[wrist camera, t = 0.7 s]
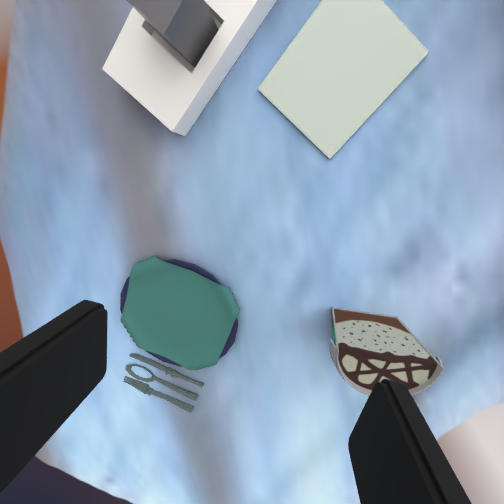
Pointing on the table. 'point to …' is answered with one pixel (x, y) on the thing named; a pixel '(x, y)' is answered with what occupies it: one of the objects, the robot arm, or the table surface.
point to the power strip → (182, 62)
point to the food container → (380, 352)
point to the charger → (180, 24)
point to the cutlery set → (177, 320)
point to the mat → (341, 69)
